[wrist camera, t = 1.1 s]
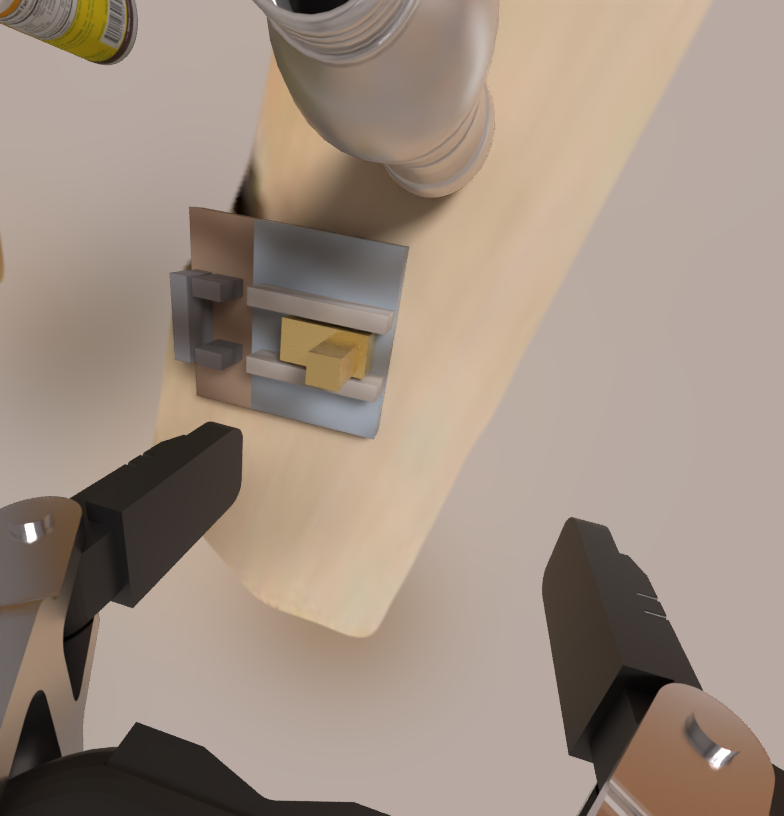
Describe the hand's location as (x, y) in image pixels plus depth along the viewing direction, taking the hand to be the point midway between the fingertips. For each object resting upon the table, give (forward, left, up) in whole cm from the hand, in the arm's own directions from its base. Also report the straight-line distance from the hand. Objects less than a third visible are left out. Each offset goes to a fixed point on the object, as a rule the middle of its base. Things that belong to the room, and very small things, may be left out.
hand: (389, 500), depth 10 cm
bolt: (+3, -8, -19) cm, 21 cm away
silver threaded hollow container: (-11, -3, -21) cm, 24 cm away
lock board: (+3, -12, -21) cm, 24 cm away
